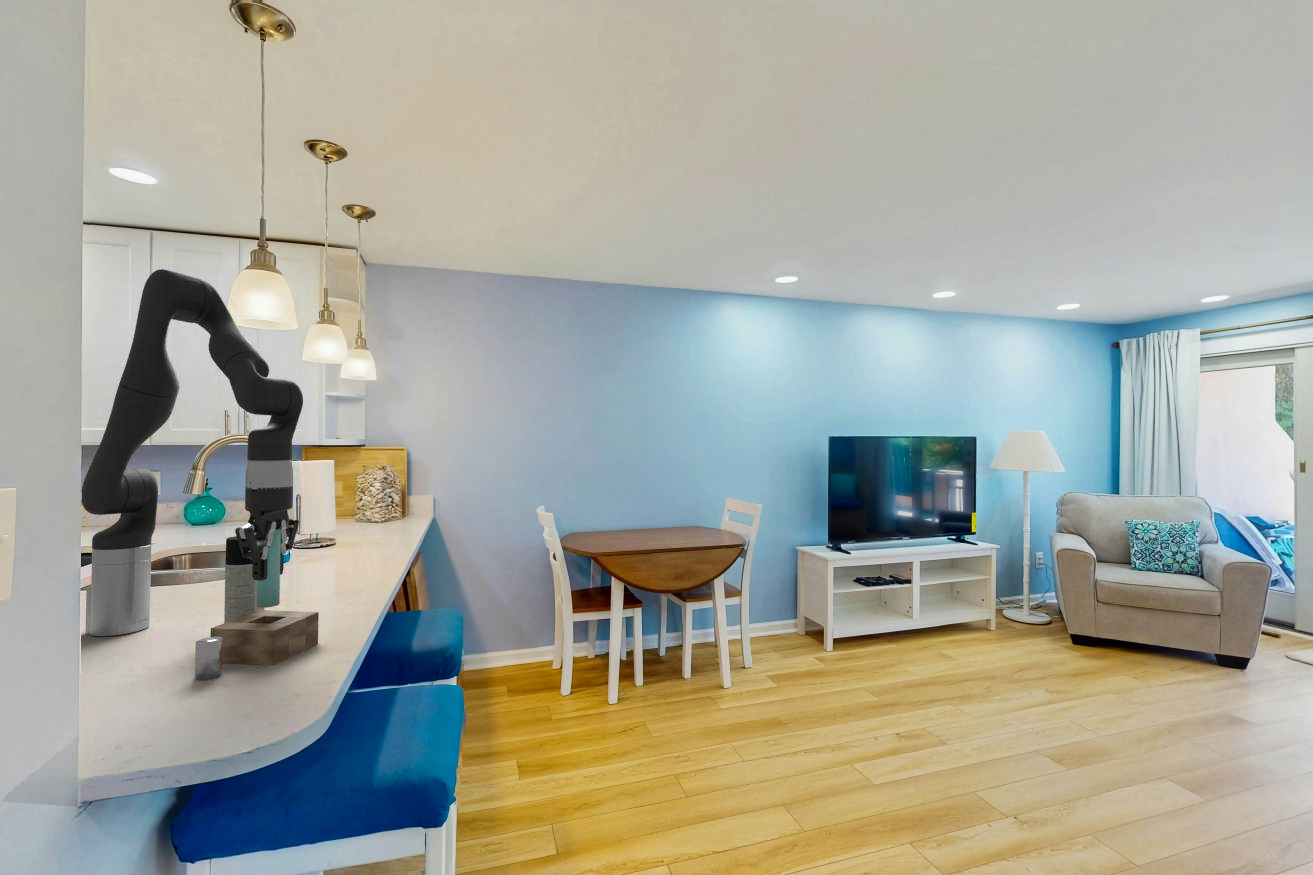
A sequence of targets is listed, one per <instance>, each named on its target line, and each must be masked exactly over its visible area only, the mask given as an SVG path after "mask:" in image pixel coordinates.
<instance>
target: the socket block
mask: <svg viewBox="0 0 1313 875" xmlns="http://www.w3.org/2000/svg"><path fill="white" fill-rule="evenodd" d="M319 613H320V612H319V611H300V610H299V611H298V610H297V611H295V610H270V609H269V610H267V609H264V610H260V611H257V612H254V613H251V614H249V615H246V616H243V617H240V618H238V619H235V620H232V621H229V622H227V623H221V624H218V625H216V626H213V627H210V636H209V637H222V664H235V665H236V664H237V665H238V664H239V665H243V664H244V665H260V666H261V665H265V666H276V665H277V664H279V663H281V662H283V661H285V660H288V659H289V658H292V657H293V656H296V655H297V654H299V653H301V652H303V651H305V650H307V649H309V648H311V647H313V646H315V645H317V644H318V643H319V618H320V616H319Z"/></svg>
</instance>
